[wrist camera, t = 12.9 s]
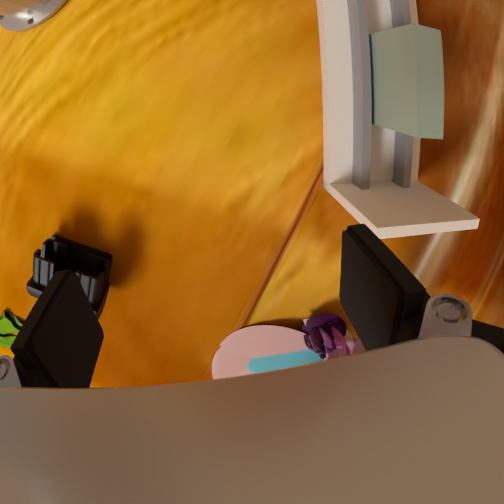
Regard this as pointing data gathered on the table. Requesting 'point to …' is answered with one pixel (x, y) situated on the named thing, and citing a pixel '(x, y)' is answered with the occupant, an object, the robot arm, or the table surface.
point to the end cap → (72, 269)
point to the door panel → (408, 80)
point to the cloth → (8, 328)
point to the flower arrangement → (283, 346)
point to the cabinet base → (372, 130)
